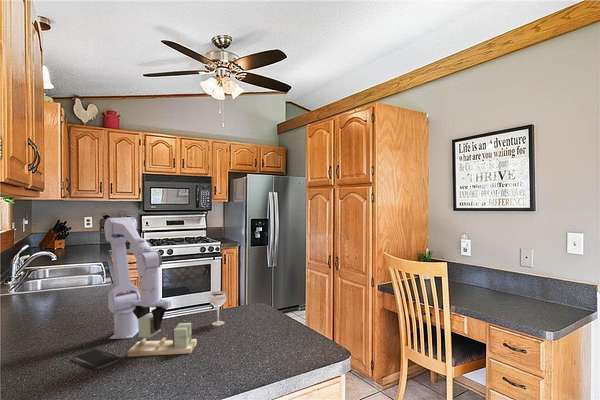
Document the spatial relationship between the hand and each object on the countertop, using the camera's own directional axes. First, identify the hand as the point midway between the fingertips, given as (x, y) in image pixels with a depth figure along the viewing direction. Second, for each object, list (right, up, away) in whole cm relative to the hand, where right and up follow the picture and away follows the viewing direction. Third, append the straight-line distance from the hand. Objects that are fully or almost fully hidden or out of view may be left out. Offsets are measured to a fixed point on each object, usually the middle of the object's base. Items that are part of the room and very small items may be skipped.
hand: (150, 328), depth 115 cm
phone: (-14, -8, -6) cm, 18 cm away
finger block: (0, -2, 0) cm, 2 cm away
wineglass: (+17, -7, +24) cm, 30 cm away
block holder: (+4, -7, 0) cm, 8 cm away
